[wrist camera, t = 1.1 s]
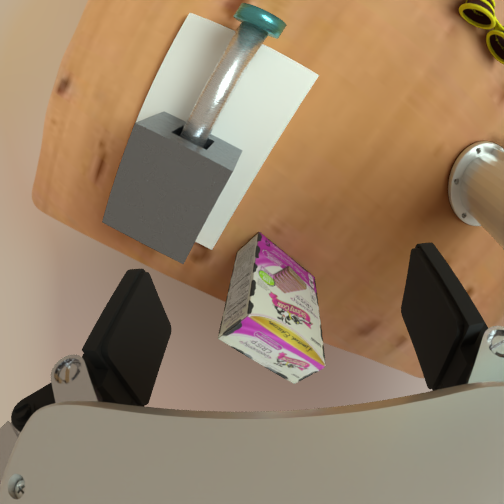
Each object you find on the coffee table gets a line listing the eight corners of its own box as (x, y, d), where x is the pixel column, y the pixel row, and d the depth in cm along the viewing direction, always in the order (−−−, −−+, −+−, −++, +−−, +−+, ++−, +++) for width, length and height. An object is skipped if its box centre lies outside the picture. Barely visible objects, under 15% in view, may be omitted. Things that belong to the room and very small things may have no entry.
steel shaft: (244, 9, 24) (238, -2, 20) (285, 29, 25) (287, 21, 21) (154, 182, 36) (138, 197, 32) (189, 199, 37) (177, 217, 32)
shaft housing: (164, 111, 32) (135, 122, 26) (242, 150, 34) (233, 171, 28) (130, 194, 38) (102, 222, 32) (199, 229, 40) (183, 264, 34)
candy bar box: (317, 275, 44) (328, 367, 31) (292, 294, 47) (294, 386, 33) (259, 227, 41) (248, 315, 27) (235, 251, 43) (214, 341, 29)
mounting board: (192, 14, 27) (189, 12, 26) (317, 75, 30) (318, 75, 29) (113, 193, 40) (109, 197, 39) (213, 245, 43) (211, 250, 42)
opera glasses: (507, 46, 23) (531, 44, 18) (496, 66, 25) (521, 65, 20) (464, -8, 21) (486, -17, 16) (450, 9, 22) (473, 1, 18)
